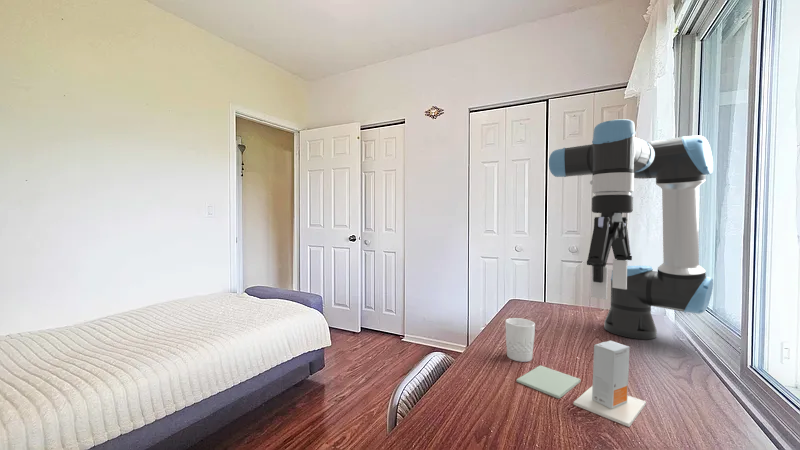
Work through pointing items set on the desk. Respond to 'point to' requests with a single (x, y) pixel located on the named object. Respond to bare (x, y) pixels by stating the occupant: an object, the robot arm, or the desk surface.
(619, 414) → the taller pad
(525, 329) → the white cup
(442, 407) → the desk surface
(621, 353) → the skincare box
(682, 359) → the desk surface
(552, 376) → the shorter pad
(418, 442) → the desk surface
